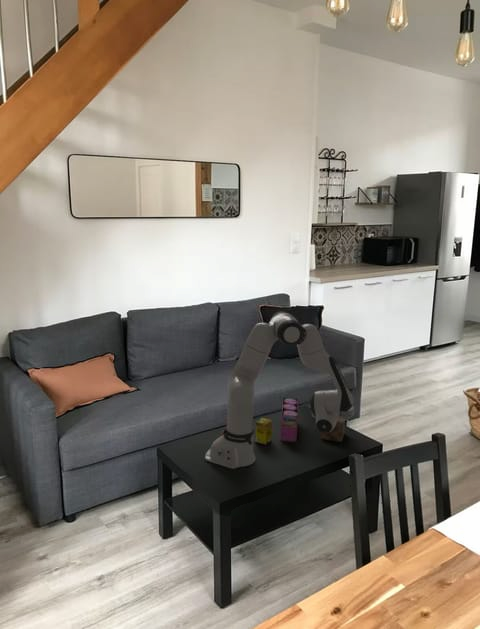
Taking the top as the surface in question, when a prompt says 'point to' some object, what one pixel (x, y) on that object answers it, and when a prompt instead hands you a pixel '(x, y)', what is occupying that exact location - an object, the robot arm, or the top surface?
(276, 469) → the top surface
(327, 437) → the walnut block
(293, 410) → the gum box
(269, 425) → the supplement box
